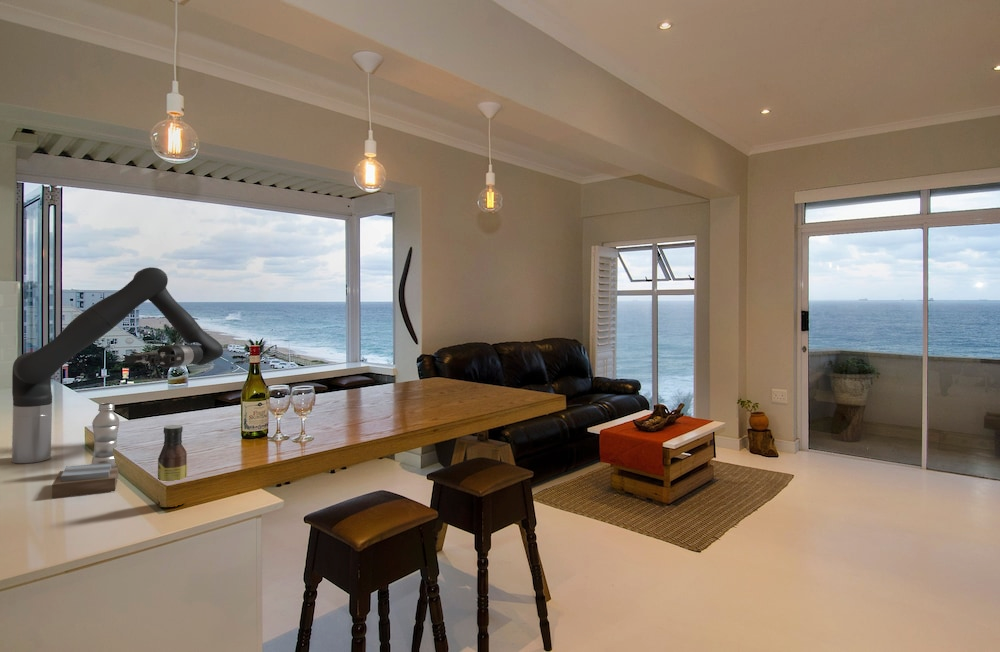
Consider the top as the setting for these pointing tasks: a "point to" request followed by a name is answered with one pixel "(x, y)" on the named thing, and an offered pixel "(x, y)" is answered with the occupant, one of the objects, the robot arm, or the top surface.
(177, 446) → the sauce bottle
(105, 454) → the silver bottle
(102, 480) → the plinth
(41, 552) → the top surface
